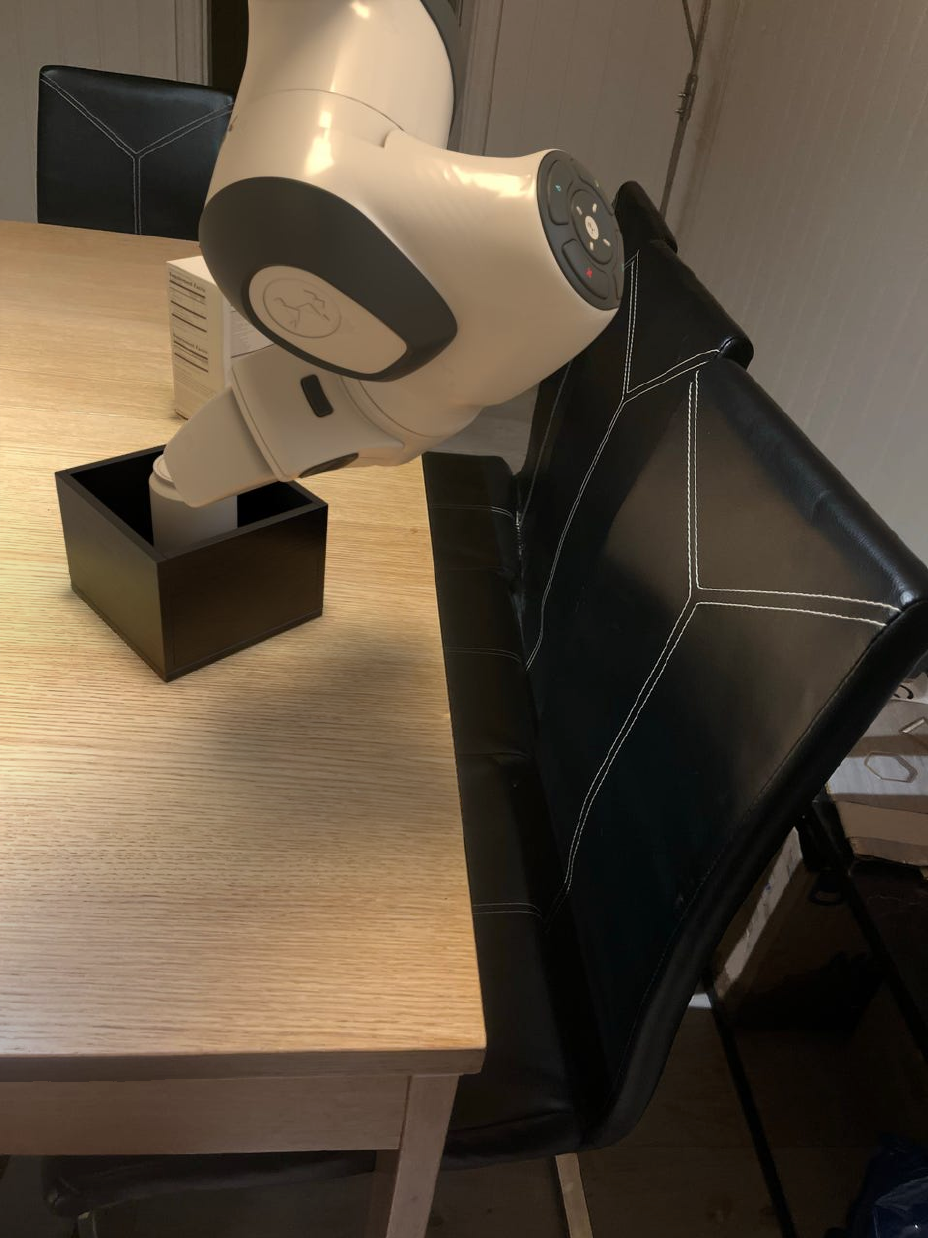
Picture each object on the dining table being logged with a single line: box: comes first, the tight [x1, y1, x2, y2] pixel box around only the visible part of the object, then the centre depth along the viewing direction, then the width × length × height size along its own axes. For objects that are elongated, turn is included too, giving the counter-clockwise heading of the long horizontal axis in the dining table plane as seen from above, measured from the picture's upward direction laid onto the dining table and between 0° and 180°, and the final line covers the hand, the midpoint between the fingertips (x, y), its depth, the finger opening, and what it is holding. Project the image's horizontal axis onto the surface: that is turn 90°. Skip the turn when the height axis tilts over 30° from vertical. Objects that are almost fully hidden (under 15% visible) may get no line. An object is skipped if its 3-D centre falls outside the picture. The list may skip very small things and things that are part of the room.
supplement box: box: [165, 255, 274, 420], centre depth 98 cm, size 10×9×17 cm
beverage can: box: [149, 454, 237, 554], centre depth 72 cm, size 6×6×12 cm
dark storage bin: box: [54, 443, 329, 683], centre depth 72 cm, size 15×15×11 cm
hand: (272, 468), depth 61 cm, fingers open, 8 cm apart
